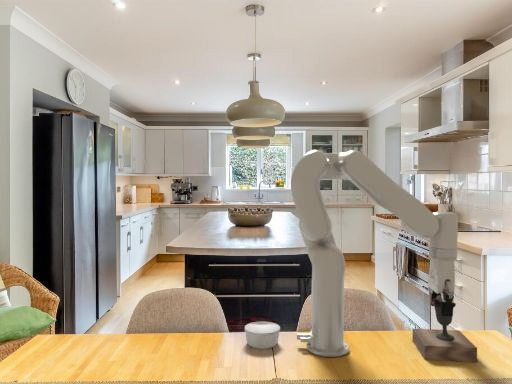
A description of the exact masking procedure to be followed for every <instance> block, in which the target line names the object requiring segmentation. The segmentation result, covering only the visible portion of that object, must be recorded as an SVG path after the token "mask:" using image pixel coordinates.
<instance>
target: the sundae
mask: <svg viewBox="0 0 512 384" xmlns="http://www.w3.org/2000/svg"><path fill="white" fill-rule="evenodd" d="M445 297H446V295H445ZM441 302H443V301H442V296H441V293H440V294H439V295H438V296H437V297H436V299H433V302H432V304H433V305H434V306H433V307H434V312H435V317H436V321H437V322H438V324H439V325H441V327H442V330H443V331H442V333H440V334H437V335H436V337H437V338H439V339H442V340H452V339H454V336H452V335H450V334H448V333H447V330H448V329H447V327H448V326H449V325H450V324H451V323H452V320H453V316H452V317H451V316H442V315H441ZM456 305H457V303H456V302H454V303H453V309H454V308H455V307H456Z"/></svg>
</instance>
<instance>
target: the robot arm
mask: <svg viewBox="0 0 512 384" xmlns="http://www.w3.org/2000/svg"><path fill="white" fill-rule="evenodd" d="M344 179H346V180H347V179H348V181H350V183H352V184H353V185H354V186H355V187H356V188H358V189H359V191H360V192H362V193H363V194H364V195H365V196H366V197H367V198H368V199H369V200H370V201H371V202H373V203H374V204H376V205H378V206H379V207H381V208H383V209H384V210H387V211H388V212H390V213H391V214H392V215H394V216H395V217H396V218H398V219H399V220H400V224H401V228H402V229H403V230H404V231H405V232H406V233H407V234H409V235H411V236H415V237H418V238H421V239H428V238H429V247H428V248H429V252H428V253H429V254H428V257H429V258H430V260H429V266H428V267H429V268H428V269H429V270H428V281H427V282H428V283H427V284H428V287H429V289H430V306H431V307H434V305H433V304H432V302H433V299H436V297H437V296H438V295H439V294H440V293H441V296H442V301H443V302H441V315H442V316H451V317H452V318H453V316H454V308H453V303H455V302H454V301H455V300H454V298H455V297H454V295H455V288H456V287H455V286H456V269H455V261H457V260H458V237H459V236H458V235H459V233H458V232H459V231H458V229H459V217H458V215H457V214H456V213H455V212H451V211H435V212H433V211H431V210H430V209H429V208H428V207H427V206H426V205H424V203H422V202H421V201H420V200H419V199H418V198H417V197H415V195H413V194H411V193H410V192H409V191H408V190H406V189H405V188H403V187H402V186H401V185H400V184H398V183H397V182H396V181H394V180H393V179H392V178H390V177H389V176H388V174H386V173H385V172H384V171H383V170H382V169H381V168H379V166H378V165H376V164H375V162H374V161H372V160H371V159H369V157H367V155H365V154H364V153H363V152H362V151H359V150H355V149H353V150H348V151H345V152H324V151H322V150H319V149H312V150H310V151H307V152H306V153H305V154H304V155H303V156H302V157H301V158H300V159H299V160H298V162H297V163H296V165H295V166H294V169H293V171H292V174H291V178H290V189H291V190H290V191H291V195H292V199H293V202H294V206H295V211H296V213H297V216H298V220H299V221H298V227H299V231H300V233H301V237H302V240H303V242H304V246H305V249H306V252H307V255H308V258H309V260H310V263H311V329H310V332H307V333H298V332H297V333H296V340H297V341H300V343H306V350H307V351H308V352H310V353H311V354H313V355H316V356H319V357H326V358H328V357H329V358H336V357H337V358H338V357H342V356H344V355H346V354H348V353H349V352H350V347H349V345H348V343H346V342H345V340H344V339H345V338H344V336H345V335H344V330H345V329H344V328H345V327H344V325H345V324H344V323H345V318H344V316H345V314H344V313H345V312H344V310H345V308H344V307H345V305H344V304H345V303H344V301H345V296H344V295H345V294H344V292H345V287H344V286H345V275H346V260H345V256H344V253H343V252H342V250H341V249H340V248H339V247H338V246H337V245H336V241H335V238H334V236H333V232H332V227H333V225H332V221H331V218H330V216H329V214H328V212H327V211H328V210H327V207H326V205H325V203H324V198H323V195H322V192H321V186H320V185H321V180H344ZM445 295H446V297H445Z"/></svg>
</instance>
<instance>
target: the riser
mask: <svg viewBox="0 0 512 384" xmlns="http://www.w3.org/2000/svg"><path fill="white" fill-rule="evenodd" d="M442 331H443V329H434V328H433V329H432V328H412V340H411V341H412V343H413V344H414V345H415V347H416V349H417V350H418V352H419V353H420V355H421V356H422V358H423V359H424V360H427V361H429V360H430V361H448V362H466V363H467V362H468V363H478V347H477V346H476V345H474V344H473V343H472V342H471V341H470V340H469V339H468V338H467V337H466V336H465V335H464V334H463V332H461V330H454V329H447V333H448V334H450V335H452V336H454V339H452V340H442V339H439V338H437V337H436V335H437V334H440V333H442Z"/></svg>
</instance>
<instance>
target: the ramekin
mask: <svg viewBox="0 0 512 384" xmlns="http://www.w3.org/2000/svg"><path fill="white" fill-rule="evenodd" d="M244 332H245V333H244V334H245V338H246V344H247V345H248V346H249V347H250V348H254V349H259V350H266V349H268V350H269V349H271V348H274V347H276V346H277V344H278V342H279V337H280V332H281V326H280V325H279V324H277V323H274V322H270V321H255V322H250V323H247V324H246V325H245V326H244Z"/></svg>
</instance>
